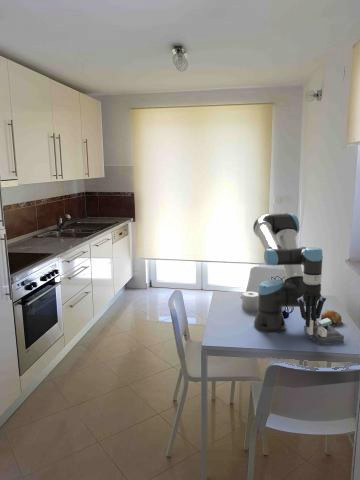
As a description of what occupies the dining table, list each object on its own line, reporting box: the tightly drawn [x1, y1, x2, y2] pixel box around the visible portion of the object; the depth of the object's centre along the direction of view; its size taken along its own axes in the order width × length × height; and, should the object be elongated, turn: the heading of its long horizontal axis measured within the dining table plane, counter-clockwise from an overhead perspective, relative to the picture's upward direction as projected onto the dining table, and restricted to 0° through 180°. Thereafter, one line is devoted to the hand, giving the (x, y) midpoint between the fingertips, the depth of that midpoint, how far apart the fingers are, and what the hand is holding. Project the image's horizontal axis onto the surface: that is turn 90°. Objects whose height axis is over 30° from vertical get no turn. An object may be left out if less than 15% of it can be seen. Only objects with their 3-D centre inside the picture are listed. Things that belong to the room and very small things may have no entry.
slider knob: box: [318, 326, 327, 337], centre depth 171 cm, size 2×4×4 cm, turn 9°
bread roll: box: [320, 309, 343, 326], centre depth 194 cm, size 10×10×8 cm
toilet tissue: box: [240, 291, 258, 312], centre depth 216 cm, size 9×13×9 cm
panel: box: [303, 324, 345, 345], centre depth 177 cm, size 12×14×4 cm
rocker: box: [317, 318, 332, 327], centre depth 181 cm, size 5×4×2 cm
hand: (309, 333), depth 170 cm, fingers closed
